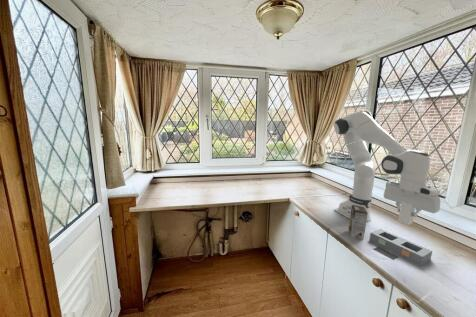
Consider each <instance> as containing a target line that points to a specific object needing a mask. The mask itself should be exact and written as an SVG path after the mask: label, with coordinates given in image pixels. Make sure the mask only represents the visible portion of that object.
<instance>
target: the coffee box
mask: <svg viewBox="0 0 476 317" xmlns="http://www.w3.org/2000/svg"><path fill="white" fill-rule="evenodd" d="M367 214H368V213H367V211H366V210H365V208H364V207H361V206H356V205H352V208H351V215H350V219H349V222H348V233H349V235H350V237H351V238H355V239H359V240H364V238H365V231H366V226H367V222H368V221H367Z"/></svg>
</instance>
